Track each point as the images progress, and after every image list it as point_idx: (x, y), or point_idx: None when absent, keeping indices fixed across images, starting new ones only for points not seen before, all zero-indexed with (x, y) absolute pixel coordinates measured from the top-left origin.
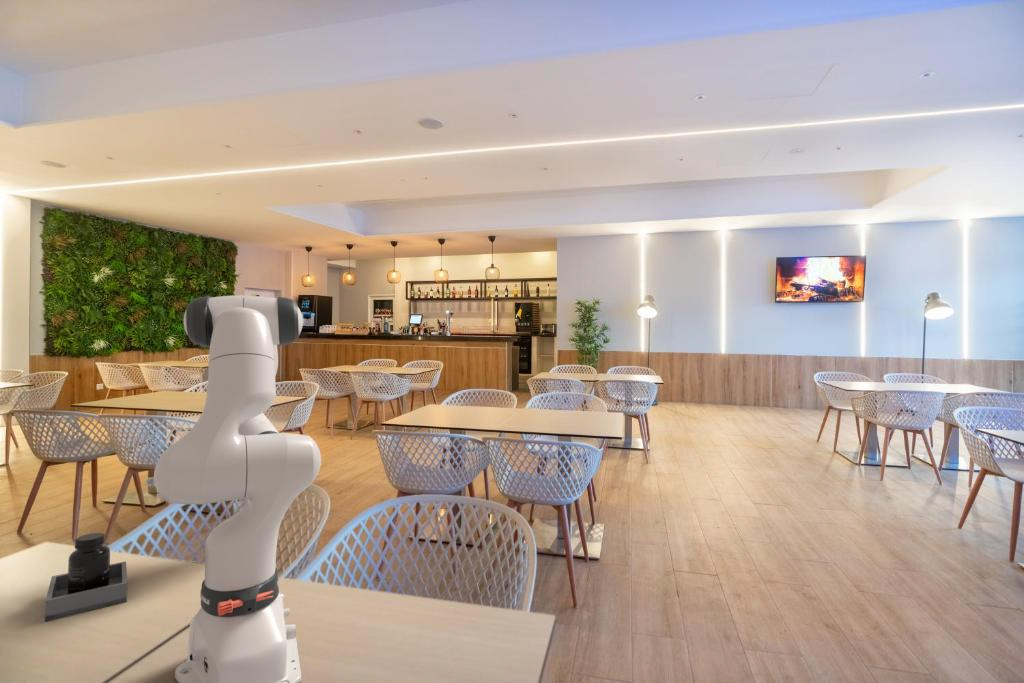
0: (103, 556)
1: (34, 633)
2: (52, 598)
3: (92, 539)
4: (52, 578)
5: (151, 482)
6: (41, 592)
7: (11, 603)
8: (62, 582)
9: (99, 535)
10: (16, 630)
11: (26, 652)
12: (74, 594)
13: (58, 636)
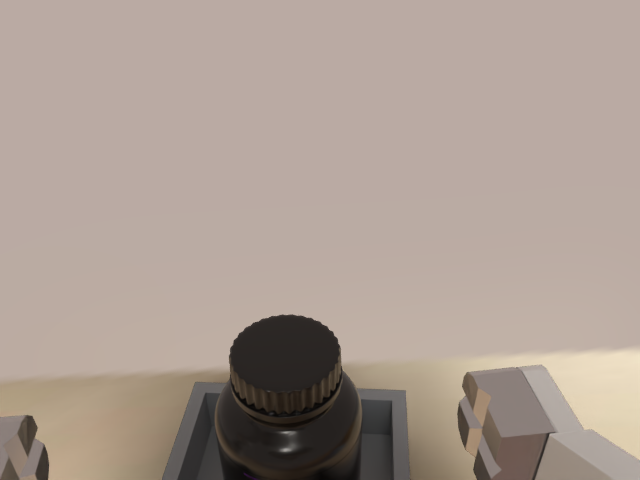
0: (224, 451)
1: (150, 410)
2: (199, 394)
3: (230, 354)
4: (382, 392)
5: (479, 423)
6: (443, 415)
7: (403, 365)
8: (391, 431)
9: (272, 375)
10: (208, 381)
11: (55, 401)
12: (176, 440)
13: (72, 453)
